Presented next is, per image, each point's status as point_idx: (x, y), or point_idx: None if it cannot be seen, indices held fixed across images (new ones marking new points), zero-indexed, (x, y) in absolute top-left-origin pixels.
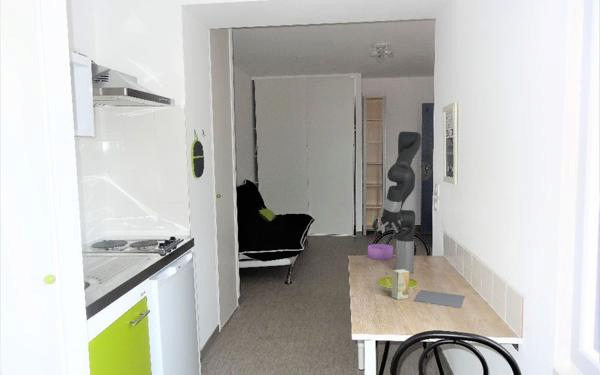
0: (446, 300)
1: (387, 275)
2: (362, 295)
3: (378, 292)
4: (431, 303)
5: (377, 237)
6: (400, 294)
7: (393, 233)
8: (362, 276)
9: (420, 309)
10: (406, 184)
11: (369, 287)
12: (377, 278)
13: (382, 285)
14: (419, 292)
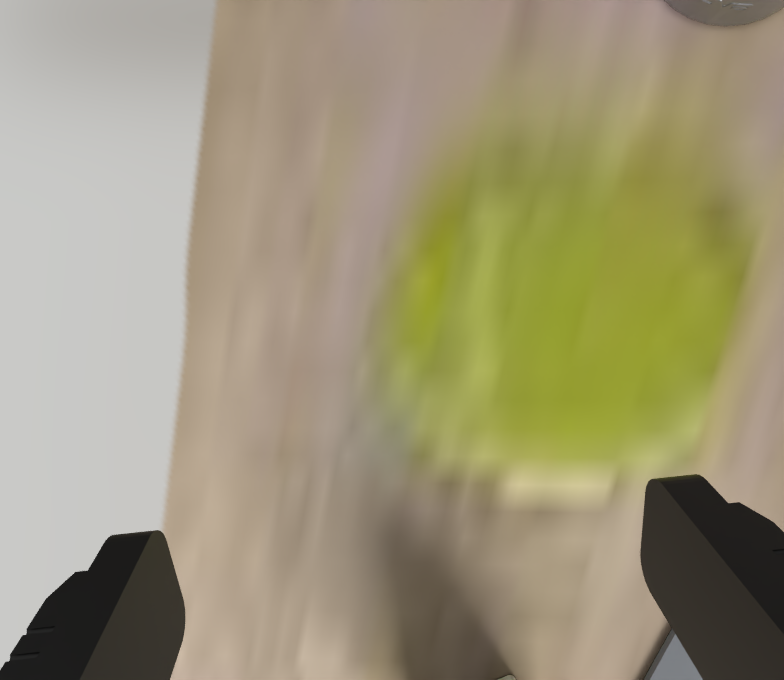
0: None
1: (520, 88)
2: (203, 661)
3: (338, 593)
4: None
5: (170, 645)
6: None
7: (724, 592)
8: (278, 130)
9: None
10: None
11: (288, 461)
12: (405, 193)
13: (408, 407)
14: (673, 637)
